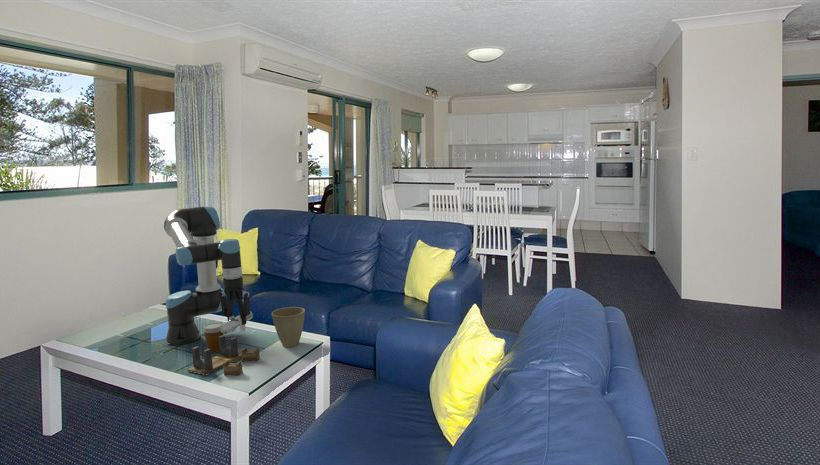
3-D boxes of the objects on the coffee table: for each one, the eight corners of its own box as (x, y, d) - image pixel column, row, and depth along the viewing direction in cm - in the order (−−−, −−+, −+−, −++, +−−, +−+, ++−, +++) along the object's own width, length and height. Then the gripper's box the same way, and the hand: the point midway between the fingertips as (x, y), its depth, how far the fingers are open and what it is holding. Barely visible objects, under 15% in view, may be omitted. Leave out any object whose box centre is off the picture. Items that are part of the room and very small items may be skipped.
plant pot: (305, 349, 227) (302, 315, 225) (271, 351, 226) (268, 317, 224) (308, 337, 242) (306, 305, 239) (277, 339, 241) (274, 307, 238)
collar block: (188, 371, 208) (185, 350, 206) (227, 353, 226) (225, 333, 225) (205, 375, 203) (202, 353, 202) (243, 356, 222) (241, 336, 220)
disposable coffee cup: (206, 356, 224) (203, 330, 222) (203, 349, 232) (201, 324, 230) (228, 351, 228) (225, 326, 226) (225, 345, 237) (222, 320, 235)
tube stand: (238, 376, 201) (237, 363, 201) (224, 375, 203) (222, 363, 202) (260, 359, 218) (259, 347, 217) (246, 358, 219) (245, 347, 218)
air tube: (229, 334, 199) (228, 324, 198) (220, 334, 200) (219, 323, 199) (253, 319, 216) (252, 310, 215) (244, 319, 217) (243, 309, 216)
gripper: (208, 279, 203) (214, 334, 207) (246, 279, 199) (251, 336, 203) (219, 274, 210) (225, 327, 214) (256, 275, 206) (261, 329, 210)
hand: (238, 331), depth 208 cm, fingers closed on air tube, 4 cm apart
